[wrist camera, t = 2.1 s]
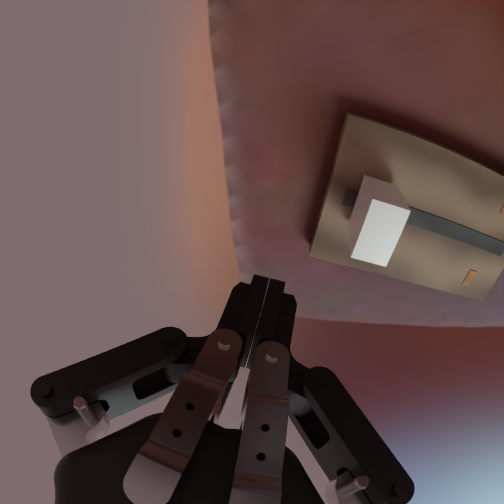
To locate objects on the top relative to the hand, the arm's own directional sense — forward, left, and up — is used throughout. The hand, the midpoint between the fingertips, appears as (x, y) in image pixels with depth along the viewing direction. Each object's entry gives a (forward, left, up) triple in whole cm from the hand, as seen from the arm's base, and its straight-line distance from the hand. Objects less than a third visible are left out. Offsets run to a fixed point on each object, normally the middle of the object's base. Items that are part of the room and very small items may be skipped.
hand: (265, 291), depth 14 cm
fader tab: (0, +7, -14) cm, 15 cm away
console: (0, +14, -16) cm, 21 cm away
